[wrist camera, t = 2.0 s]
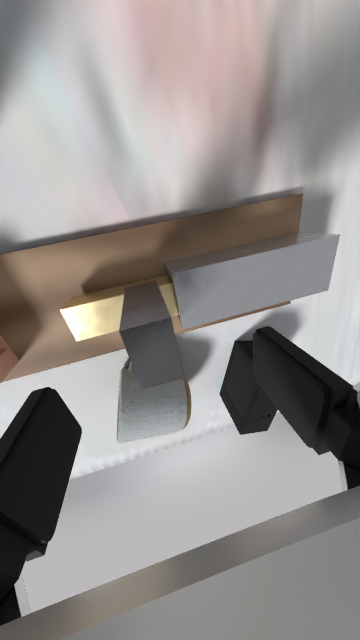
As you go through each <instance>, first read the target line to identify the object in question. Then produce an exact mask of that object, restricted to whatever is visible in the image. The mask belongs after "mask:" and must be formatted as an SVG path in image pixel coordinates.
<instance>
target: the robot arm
mask: <svg viewBox="0 0 360 640" xmlns="http://www.w3.org/2000/svg"><path fill="white" fill-rule="evenodd" d="M253 376H254V379H255V381H256V382H257V383H258V385H259V386H260V387H261V388H262V390H263V391H264V392H265V394H266V395H267V396H268V397H269V399H270V400H271V401H272V402H273V404H274V405H275V406H276V407H277V409H278V410H279V411H280V413H281V414H282V415H283V416H284V418H285V419H286V420H287V421H288V423H289V424H290V425H291V426H292V428H293V429H294V430H295V431H296V433H297V434H298V435H299V436H300V437H301V439H302V440H303V442H304V443H305V444H306V445H307V446H308V447H310V448H313V449H314V450H315V451H316V452H317V453H318V455H320V454H323V453H326V452H329V451H331V452H332V453H333V455H334V456H335V457H336V458H337V459H338V463H339V470H340V476H341V483H342V489H343V492H341V493H338V494H335V495H333V496H330V497H327V498H324V499H322V500H319V501H317V502H314V503H311V504H308V505H306V506H303V507H301V508H298V509H295V510H293V511H290V512H288V513H285V514H282V515H280V516H277V517H275V518H272V519H269V520H267V521H264V522H262V523H259V524H256V525H254V526H251V527H249V528H246V529H244V530H241V531H239V532H236V533H233V534H231V535H228V536H225V537H223V538H220V539H218V540H215V541H213V542H210V543H208V544H205V545H203V546H200V547H197V548H195V549H192V550H190V551H187V552H185V553H182V554H179V555H177V556H174V557H172V558H169V559H167V560H164V561H162V562H159V563H156V564H154V565H151V566H149V567H146V568H144V569H141V570H139V571H136V572H134V573H131V574H128V575H126V576H123V577H121V578H118V579H116V580H113V581H111V582H108V583H106V584H103V585H101V586H98V587H96V588H93V589H91V590H88V591H86V592H83V593H81V594H78V595H76V596H73V597H71V598H68V599H66V600H63V601H60V602H58V603H55V604H53V605H50V606H48V607H45V608H43V609H41V610H38V611H35V612H33V613H31V609H30V606H29V602H28V598H27V594H26V590H25V586H24V582H23V579H22V575H21V571H22V568H23V565H24V563H25V561H29V560H32V559H35V558H38V557H41V556H43V555H45V551H46V548H47V544H48V542H49V541H50V540H51V539H52V537H53V535H54V532H55V528H56V525H57V521H58V518H59V514H60V510H61V507H62V503H63V500H64V496H65V492H66V488H67V485H68V482H69V478H70V474H71V471H72V467H73V463H74V460H75V456H76V453H77V449H78V445H79V442H80V438H81V434H82V429H81V426H80V425H79V423H78V422H77V420H76V419H75V417H74V416H73V414H72V413H71V411H70V410H69V409H68V407H67V406H66V404H65V403H64V401H63V400H62V398H61V397H60V395H59V394H58V393H57V391H56V390H55V389H51V388H50V387H46V388H42V389H39V390H35V391H33V392H31V394H30V395H29V396H28V398H27V399H26V401H25V403H24V404H23V406H22V407H21V409H20V410H19V412H18V413H17V415H16V416H15V418H14V419H13V421H12V422H11V424H10V425H9V427H8V428H7V430H6V431H5V433H4V434H3V436H2V437H1V439H0V640H360V391H359V392H357V391H356V390H354V389H353V386H352V385H351V384H349V383H348V382H347V381H345V380H344V379H342V378H341V377H340V376H338V375H337V374H335V373H334V372H333V371H331V370H330V369H328V368H327V367H326V366H324V365H323V364H321V363H320V362H319V361H317V360H316V359H314V358H313V357H312V356H310V355H309V354H307V353H306V352H305V351H303V350H302V349H301V348H299V347H298V346H296V345H295V344H294V343H292V342H291V341H289V340H288V339H287V338H285V337H284V336H282V335H281V334H280V333H278V332H277V331H275V330H274V329H273V328H271V327H269V326H267V327H263V328H259V329H257V330H256V332H255V333H254V334H253Z"/></svg>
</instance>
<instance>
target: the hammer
mask: <svg viewBox="0 0 360 640" xmlns="http://www.w3.org/2000/svg"><path fill="white" fill-rule="evenodd" d="M60 311H61V313H62V315H63V317H64V319H65V321H66V322H67V324H68V326H69V328H70V330H71V332H72V334H73V335H74V337H75V339H76V341H80V340H84V339H88V338H92V337H96V336H100V335H103V334H107V333H111V332H115V331H119V333H120V335H121V338H122V340H123V343H124V345H125V348H126V350H127V353H128V355H129V358H130V360H131V363H132V365H133V368H134V371H135V373H136V376H137V378H138V381H139V383H140V386H141V388H142V390H145V389H149V388H152V387H155V386H159V385H162V384H165V383H169V382H172V381H175V380H179V379H182V378H185V376H184V372H183V368H182V363H181V359H180V354H179V350H178V345H177V341H176V337H175V332H174V328H173V323H172V319H171V317H172V316H176V315H179V311H178V306H177V301H176V296H175V291H174V286H173V281H172V279H171V277H170V276H169V274H168V275H164V276H160V277H155V278H151V279H147V280H143V281H138V282H134V283H130V284H126V285H121V286H117V287H113V288H109V289H104V290H100V291H96V292H92V293H87V294H83V295H79V296H75V297H71V298H70V299H69V300H68V301H67V303H66V304H65V305H64V306H63V307H62V308H61V309H60Z"/></svg>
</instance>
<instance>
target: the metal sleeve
mask: <svg viewBox="0 0 360 640" xmlns="http://www.w3.org/2000/svg"><path fill="white" fill-rule="evenodd" d="M339 237H340V234H317V233H292V234H287V235H283V236H278V237H274V238H270V239H265V240H261V241H256V242H252V243H248V244H243V245H239V246H234V247H230V248H226V249H221V250H217V251H212V252H208V253H204V254H199V255H195V256H190V257H186V258H182V259H177V260H173V261H168V262H164V263H163V265H164V269H165V274H166V275H168V274H169V276H170V277H171V279H172V281H173V286H174V291H175V296H176V301H177V306H178V311H179V315H176V316H177V318H178V320H179V322H180V324H181V326H182V328H183V329H187V328H190V327H194V326H198V325H202V324H205V323H209V322H213V321H216V320H220V319H224V318H227V317H231V316H235V315H238V314H242V313H246V312H250V311H253V310H257V309H261V308H264V307H268V306H272V305H275V304H279V303H283V302H286V301H290V300H294V299H298V298H301V297H305V296H309V295H312V294H316V293H320V292H323V291H327V290H328V288H329V283H330V279H331V274H332V269H333V265H334V260H335V255H336V251H337V246H338V241H339Z"/></svg>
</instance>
